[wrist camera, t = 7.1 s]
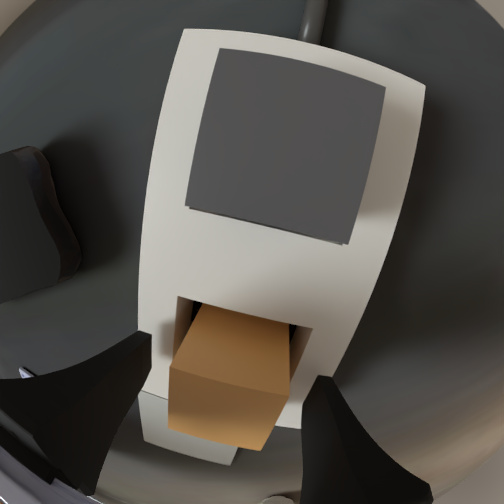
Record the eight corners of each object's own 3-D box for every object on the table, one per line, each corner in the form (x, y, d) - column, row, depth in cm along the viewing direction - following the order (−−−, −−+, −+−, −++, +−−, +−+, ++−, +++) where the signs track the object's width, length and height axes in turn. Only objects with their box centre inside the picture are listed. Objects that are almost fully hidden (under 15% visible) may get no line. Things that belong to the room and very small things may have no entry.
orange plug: (268, 364, 15) (260, 450, 9) (201, 348, 15) (167, 428, 9) (288, 307, 14) (289, 396, 8) (210, 288, 14) (169, 366, 8)
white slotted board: (300, 392, 15) (301, 428, 13) (159, 357, 16) (140, 389, 13) (404, 9, 8) (426, -16, 5) (234, -31, 8) (224, -63, 5)
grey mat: (230, 461, 19) (230, 465, 19) (145, 436, 20) (144, 440, 19) (249, 416, 17) (248, 421, 16) (140, 384, 17) (137, 389, 16)
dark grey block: (317, 205, 12) (348, 244, 6) (229, 184, 12) (184, 205, 6) (337, 120, 11) (386, 87, 5) (248, 99, 11) (220, 48, 5)
